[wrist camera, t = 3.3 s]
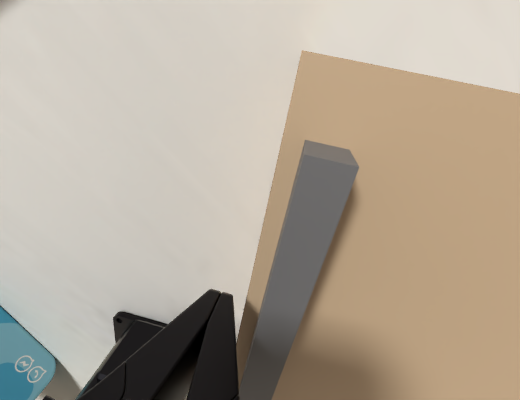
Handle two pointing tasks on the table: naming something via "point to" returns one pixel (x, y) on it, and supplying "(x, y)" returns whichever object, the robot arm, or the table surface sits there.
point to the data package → (22, 362)
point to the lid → (388, 242)
